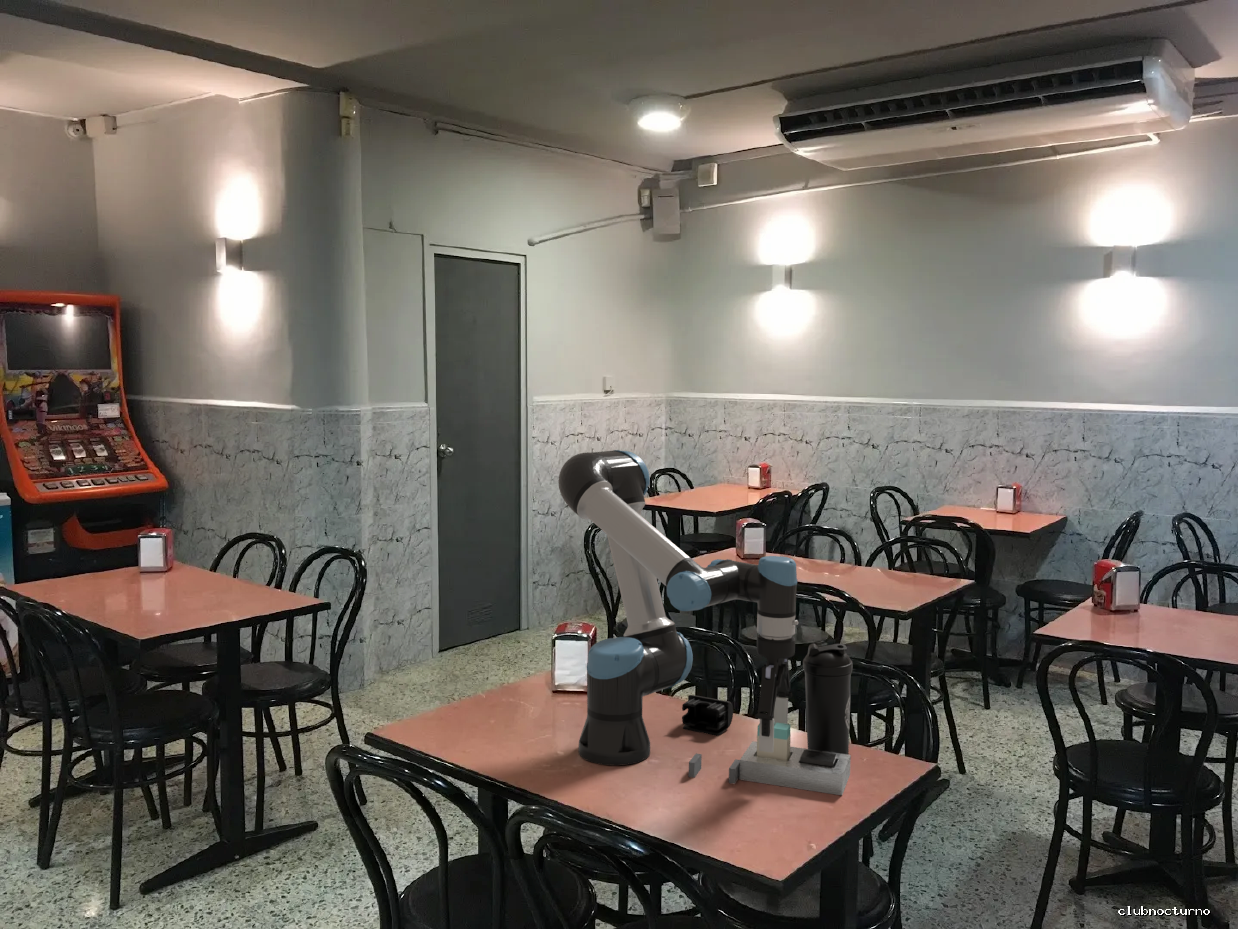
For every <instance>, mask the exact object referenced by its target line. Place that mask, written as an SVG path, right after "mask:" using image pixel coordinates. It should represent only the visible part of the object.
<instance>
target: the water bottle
mask: <svg viewBox="0 0 1238 929" xmlns="http://www.w3.org/2000/svg"><path fill="white" fill-rule="evenodd" d="M847 648H848V647H847V646H846V644H843V643H834V644H828V645H823V646H822V645H821V646H818V645H817V644H816V643H810V644H809V646H808V650H807V654H806V655H805V657H804V658H803V659H802V669H803V672H804V678H805V680H804V684H805V685H804V686H805V712H806V713H805V714H806V733H807V734H806V735H807V737H806V739H807V749H812V750H819V751H826V752H833V753H840V754H847V755H849V751H850V750H849V748H850V747H849V745H850V720H851V719H850V716H851V713H850V712H851V680H852V679H851V675H852V673H853V669H854V668H853V660H851V658H850V656H849V654H847V652H846V651H847Z"/></svg>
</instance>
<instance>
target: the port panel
mask: <svg viewBox="0 0 1238 929" xmlns="http://www.w3.org/2000/svg"><path fill="white" fill-rule="evenodd" d="M851 758H852V757H851V754H848V755H847V754H840V753H833V752H826V751H819V750H812V749H808V748H803V747H798V746H796V747H795V746H790V759H789V761H784V760H777V759H770V758H763V757H757V741H754V740H753V741H751V742H750V744H749V746H748V747H747V749H746V750H745V751H744V753H743V755H742V756H741V758H740V759H739V760H740V773H739V778H738V780H741V781H747V782H754V783H757V784H758V783H760V784H767V785H773V786H779V787H785V788H792V789H799V790H804V791H805V790H806V791H810V792H817V793H823V794H829V795H837V796H843V794H844V792H845V790H846V788H847V787H846V786H847V783H848V781H849V778H850V775H851Z"/></svg>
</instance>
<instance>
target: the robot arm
mask: <svg viewBox="0 0 1238 929" xmlns="http://www.w3.org/2000/svg"><path fill="white" fill-rule="evenodd" d="M649 472H650V471H649V470H648V467H647V465H646V463H645V462H644V460H643V459H642V458H641V457H640V456H639V455H637V454H635V453H634V452H631V451H627V450H620V449H614V450H608V451H607V450H605V451H604V450H603V451H595V452H581V453H577V454H575V455H572V456H571V457H570V458H569V459H567V460H566V461H565V462H564V464H563V465H562V467H561V469H560V471H559V475H558V481H557V482H558V490H559V493H560V496H561V498H562V499H563V501H564V503H565V504H566V505H567V506H568V507H569V509H570V510H571V511H573V512H574V513H575V514H576V515H577V516H578V517H579V518H581V519H582V520H590V521H591V522H593V524H595V525H596V526H597V527H598V528H599V529H600V530H602V531H603V532H604V533H605V534H606V536H607V542H608V544H609V549H610V553H611V557H612V562H613V566H614V569H615V570H614V571H615V574H616V579H617V583H618V587H619V592H620V596H621V601H622V604H623V608H624V613H625V618H626V621H627V628H626V629H625V631H624V634H623V636H618V637H617V636H616V637H615V638H613V637H609V638H606V639H602V640H600V641H597V642H595V643H594V644H593V645H592V646H591V647H590V649H589V650H588V655H587V656H588V657H587V664H586V673H587V674H586V679H587V680H586V682H587V683H586V685H587V686H586V689H587V690H586V693H587V694H586V695H587V698H586V699H587V700H586V701H587V702H586V705H587V709H586V713H587V714H586V719H585V722H584V725H583V728H582V730H581V734H580V736H579V739H578V755H579V756H580V757H581V758H582V759H584V760H585V761H587V762H590V763H594V764H598V765H606V766H624V765H632V764H636V763H640V762H642V761H644V760H646V759H647V758H649V756H650V755H651V740H650V737H649V733H648V731H647V728H646V724H645V722H644V718H643V697H645V696H649V695H651V694H654V693H657V692H660V691H662V690H667V689H671V688H673V687H674V686H676V685H678V684H680V683H682V682H683V681H684V680H686V678H687V677H688V675H689V673H690V672H691V670H692V666H693V660H694V658H693V657H694V656H693V651H692V649H693V648H692V647H691V644H690V642H689V640H688V639H687V638H685V637H684V635H683V634H682V633H681V632H680V631H679V632H678V631H677V628H676V625H675V624H676V623H675V622H674V621H672V620H671V619H669V618H668V617H667V615H666V612H665V608H664V603H663V599H662V595H661V592H660V591H661V590H660V586H659V584H658V581H659V582H660V583H662V584H663V585H664V586H666V596H667V598H668V599H669V601H670V604H671V606H673V608H674V609H677V610H678V611H680V612H691V611H699V610H703V609H705V608H707V607H710V606H714V605H719V604H723V603H726V602H729V601H733V600H741V601H746V602H747V601H748V602H752V603H757V604H756V605H757V614H756V618H757V619H756V632H757V633H758V635H757V636H756V652H757V655H759V656H761V657H764V659H765V658H766V663H764V664H763V666H762V668H761V681H760V682H761V683H760V687H759V688H760V690H759V698H758V708H757V713H755V715H754V717H755V719H758V720H759V723H760V727H759V751H765V752H772V753H773V751H774V722H775V724H776V723H784V724H789V723H788V722H789V719H788V718H789V717H788V716H789V698H792V697H793V691H790V690H791V680H790V678H791V677H790V669H789V668H790V667H789V658H792V657H793V656H795V654H796V652H795V651H796V638H795V636H794V635H795V634H796V626H798V625H799V620H798V619H796V614H797V613H796V612H797V611H796V605H797V604H796V603H797V584H798V579H797V578H798V577H797V563H796V560H794V559H793V558H791V557H788V556H781V555H780V556H777V555H769V556H768V555H767V556H762V557H760V559H759V560H758V563H757V564H755V563H754V564H753V563H748V562H747V563H746V562H742V561H736V560H732V559H730V558H729V559H728V558H727V559H713V560H712V561H711V562H710V563H709V564H708V565H707V566H706V567H702V566H701V565H700V564H699V563H698V562H696V561H695V560H694V559H693V558H691V557H690V556H689V555H688V554H686V553H685V552H684V550H682V549H681V548H680V547H678V545H676V544H675V543H673V542H672V540H670V539H669V538H668V537H667V536H666V535H664V534H663V533H661V531H660V530H659V529H657V528H656V527H655V526H653V525H652V523H650V522H649V521H648V520H647V519H646V518H644V517H643V516H642V515H643V514H642V511H643V508H645V505H646V499H645V495H647V494H646V493H647V492H648V489H649V488H648V487H649V486H650V481H651V479H650V473H649Z"/></svg>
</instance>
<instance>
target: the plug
mask: <svg viewBox="0 0 1238 929" xmlns="http://www.w3.org/2000/svg"><path fill="white" fill-rule="evenodd" d="M759 727H760V722H759V723H758V725H757V735H756V742H757V757H763V758H770V759H777V760H784V761H789V759H790V747H791V723H790V724H789V723H788V724H784V723H776V724H775V722H774V751H773V753H772V752H765V751H759Z"/></svg>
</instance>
